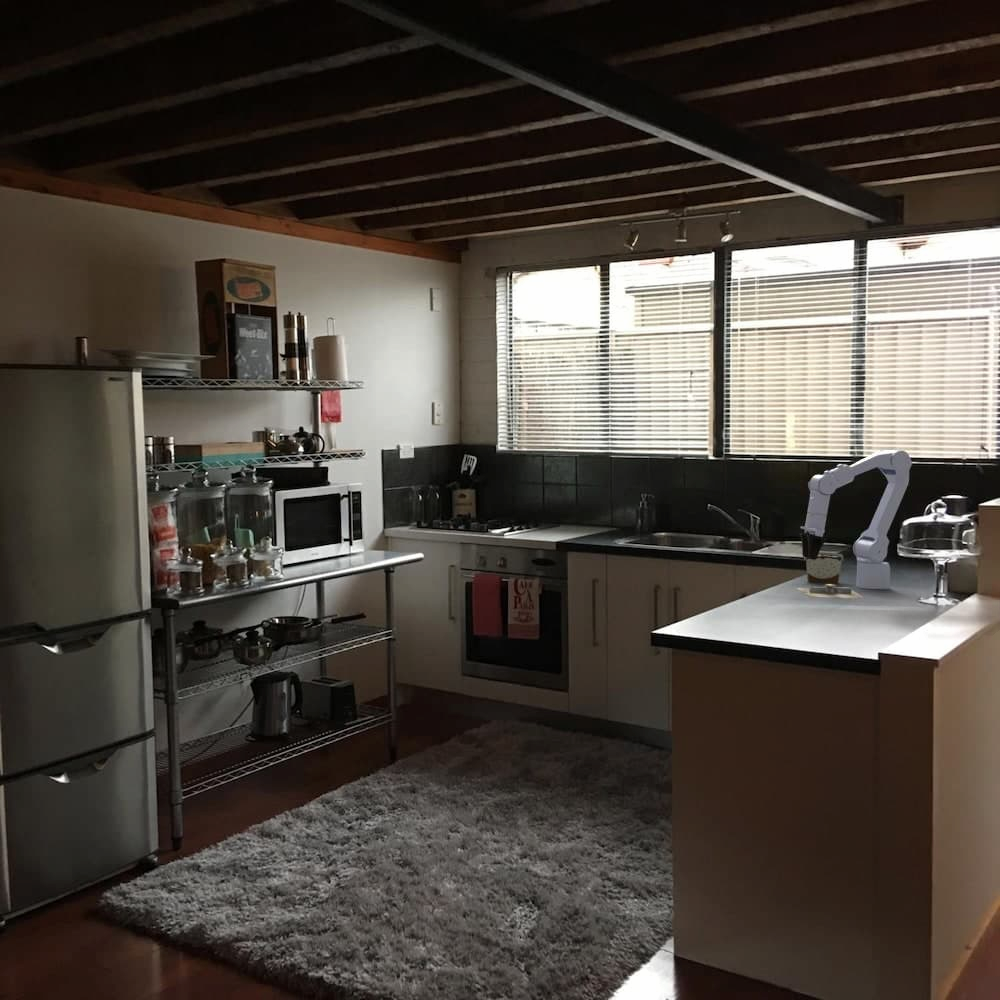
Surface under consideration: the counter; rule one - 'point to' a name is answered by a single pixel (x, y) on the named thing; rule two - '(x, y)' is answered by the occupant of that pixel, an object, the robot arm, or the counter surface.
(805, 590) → the plate
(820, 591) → the t key
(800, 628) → the counter surface
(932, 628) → the counter surface
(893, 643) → the counter surface
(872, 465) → the robot arm
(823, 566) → the food container
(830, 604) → the counter surface
